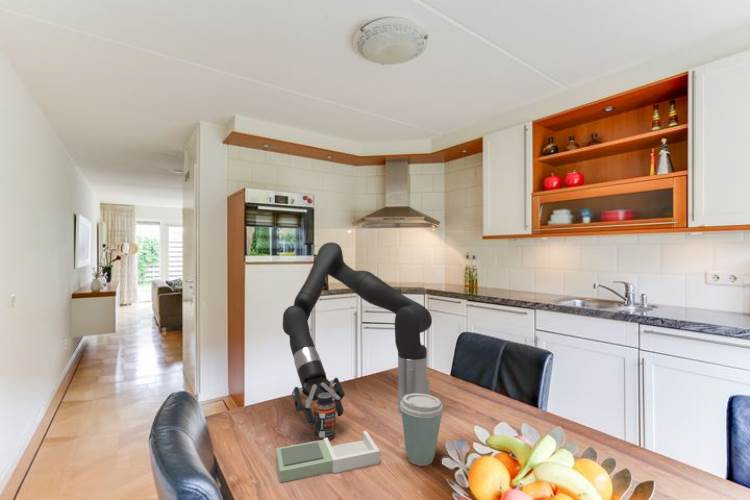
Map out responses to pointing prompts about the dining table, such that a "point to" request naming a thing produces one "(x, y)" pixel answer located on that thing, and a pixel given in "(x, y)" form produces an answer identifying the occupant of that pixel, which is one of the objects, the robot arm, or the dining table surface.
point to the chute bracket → (353, 454)
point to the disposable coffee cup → (421, 426)
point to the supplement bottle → (324, 417)
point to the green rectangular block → (303, 460)
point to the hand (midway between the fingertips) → (327, 419)
